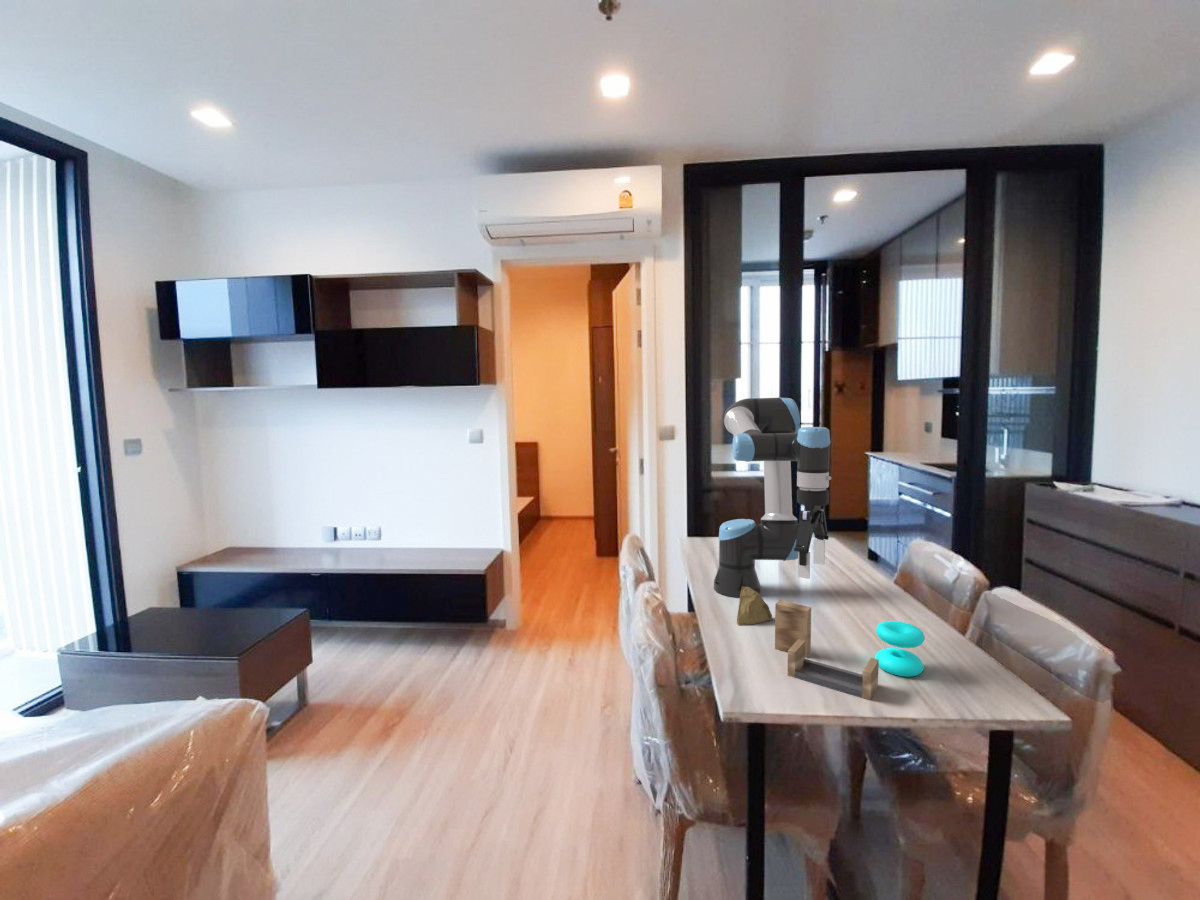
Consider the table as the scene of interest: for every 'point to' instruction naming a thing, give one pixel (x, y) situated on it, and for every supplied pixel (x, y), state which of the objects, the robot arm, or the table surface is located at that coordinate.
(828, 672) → the track
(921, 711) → the table surface
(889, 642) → the donuts
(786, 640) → the door panel
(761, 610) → the rock
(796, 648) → the frame posts
